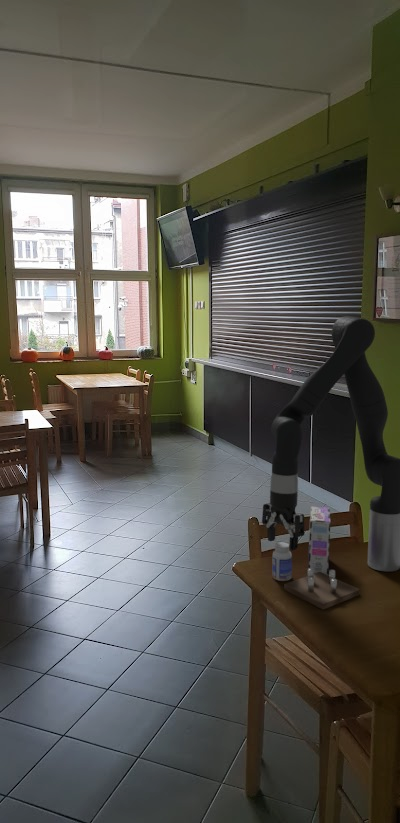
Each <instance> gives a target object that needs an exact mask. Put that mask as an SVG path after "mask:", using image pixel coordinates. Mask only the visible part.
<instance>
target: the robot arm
mask: <svg viewBox="0 0 400 823" xmlns="http://www.w3.org/2000/svg"><path fill="white" fill-rule="evenodd" d="M375 335H376V330H375V327H374V325H373V323H372V322H371V321H370V320H368V319H365V318H363V317H359V316H358V317H357V316H356V317H355V316H349V315H347V316H341V317H339V318H338V319H337V320H336V321H335V322H334V323H333V326H332V328H331V340H332V342H333V345H334V346H333V347H334V348H335V349H334V351H333V352H332V353H331V355H330V356H329V357H328V358H327V359H326V361H325V362H324V363H323V364H321V365H320V366H319V367H318V368H317V369H315V371H313V372H312V373H311V374H310V375H309V376H308V377H307V378H306V380H304V382H303V383H302V385H301V386H300V387H299V388H298V389H297V391H296V393H294V396H293V397H292V399H291V401H290V402H288V403H287V404H286V405H285V406H284V407H283V408H282V410H281V411H280V412H279V413H278V414H277V415H276V416H275V418H274V420H273V421H272V424H271V427H270V428H271V429H270V430H271V434H272V436H273V437H274V438H275V439H276V440H275V441H276V442H275V444H276V445H275V452H274V453H273V454H272V461H271V475H270V476H271V477H270V484H269V485H270V489H269V490H270V492H269V502H268V503H264V504H262V505H263V506H262V514H261V515H262V516H261V523H262V524H263V525H265V526H266V529H267V540H268V541H269V542H274V541H275V540H276V525H277V524H278V525H281V526H283V527H284V528H285V530H286V531H287V532H288V534H289V543H288V544H289V551H295V550H297V549H298V545H299V537H303V536H305V515H304V513H302V514H298V513H296V508H297V506H298V495H299V494H298V493H299V492H298V491H299V479H298V471H299V469H298V468H299V467H298V466H299V465H298V464H299V455H300V451H301V445H302V440H303V439H302V438H303V431H302V430H303V429H302V427H301V425H302V423H303V422H304V421H305V420H306V419H307V418H308V417H311V416H313V415H314V414H315V412H316V411H317V410H318V408H319V407H320V405H321V404H322V403H323V401H324V400H325V399H326V397H327V395H328V394H329V393H330V392H331V390H332V389H333V388H334V387H335V385H336V383H337V382H338V381H339V380H340V379H341V378H342V377H343V376H344V378H345V383H346V384H345V385H346V386H347V391H348V395H349V399H350V400H349V401H350V404H351V408H352V412H353V415H354V419H355V422H356V426H357V430H358V434H359V439H360V443H361V449H362V455H363V463H364V469H365V473H366V477H367V478H368V479H369V481H370V482H371V483H372V484H374V485H377V486H380V487H381V491H380V492H381V493H380V495H379V496H374V497H372V498H371V499H370V501H369V518H368V520H369V523H368V539H367V540H368V543H367V544H368V545H367V562H366V564H367V566H368V567H370V568H371V569H373V570H376V571H379V572H396V571H398V570H400V458H399V457H396V456H392V455H389V454H388V452H387V450H386V447H385V444H384V437H383V436H384V435H383V434H384V430H385V428H386V424H387V421H388V415H389V412H388V406H387V401H386V396H385V393H384V390H383V388H382V386H381V383H380V382H379V380H378V378H377V376H376V375H375V373H374V372H373V370H372V368H371V366H370V364H369V363H368V362H369V361H368V360H367V356H366V351H367V350H368V349H369V348H370V347H371V346H372V344H373V342H374V340H375V337H376V336H375Z"/></svg>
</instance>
